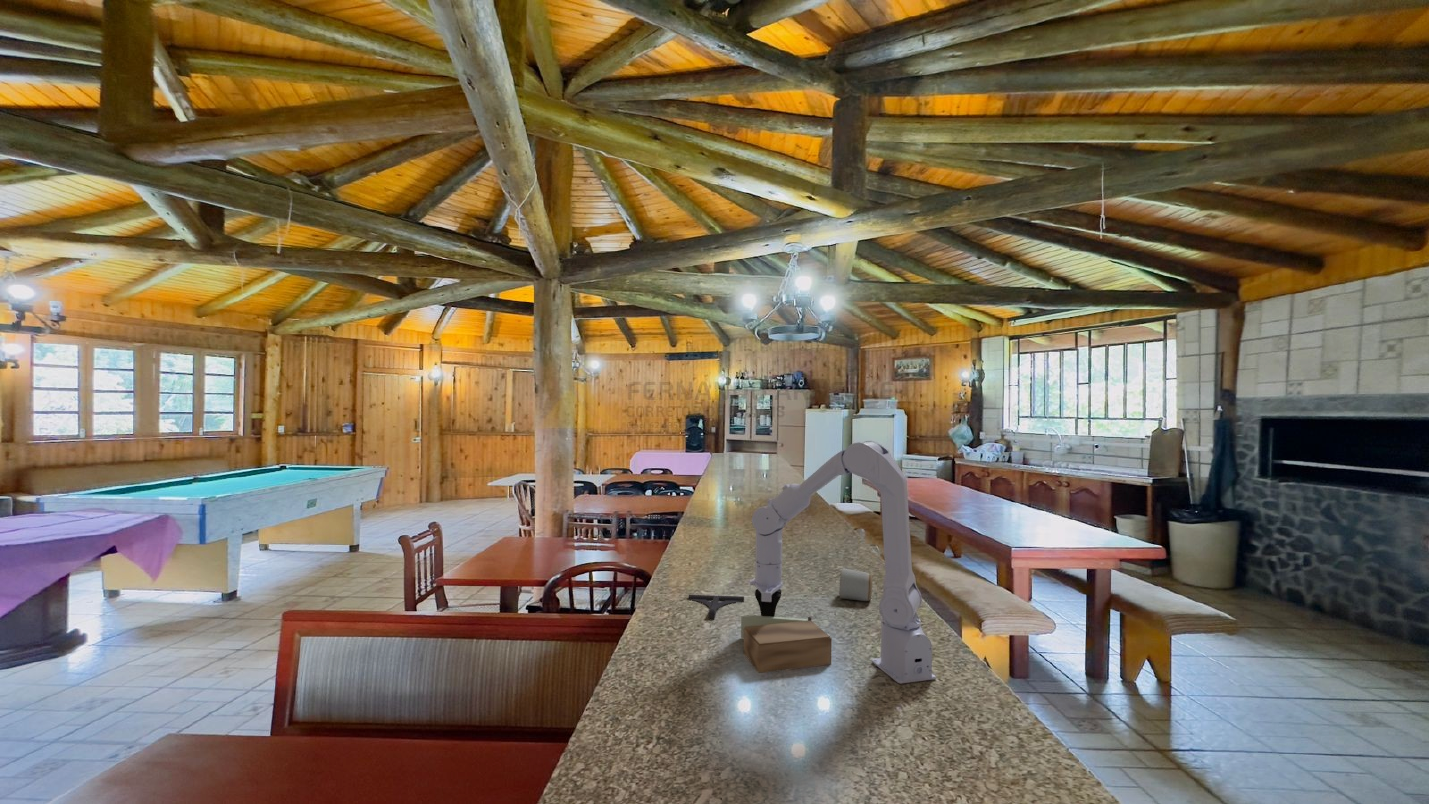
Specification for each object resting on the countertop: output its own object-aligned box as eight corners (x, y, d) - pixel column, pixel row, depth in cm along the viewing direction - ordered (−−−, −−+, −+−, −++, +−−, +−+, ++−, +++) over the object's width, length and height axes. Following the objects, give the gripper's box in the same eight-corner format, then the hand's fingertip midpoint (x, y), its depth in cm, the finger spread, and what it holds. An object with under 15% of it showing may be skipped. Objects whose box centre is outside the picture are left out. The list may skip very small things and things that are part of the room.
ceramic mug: (871, 605, 142) (871, 575, 142) (838, 601, 144) (839, 572, 144) (872, 593, 152) (873, 565, 152) (842, 590, 154) (842, 562, 154)
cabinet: (832, 664, 108) (833, 635, 108) (758, 673, 104) (759, 642, 104) (810, 643, 118) (810, 616, 118) (741, 650, 114) (741, 622, 114)
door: (807, 638, 119) (807, 617, 119) (807, 642, 117) (807, 620, 117) (741, 634, 121) (742, 612, 121) (741, 637, 119) (741, 616, 119)
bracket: (681, 621, 131) (681, 609, 131) (689, 600, 146) (689, 589, 146) (742, 624, 130) (742, 612, 130) (744, 602, 145) (744, 591, 145)
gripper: (753, 552, 128) (752, 611, 128) (747, 569, 114) (746, 636, 114) (783, 553, 127) (782, 613, 127) (781, 571, 113) (780, 639, 113)
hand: (767, 624), depth 120 cm, fingers closed
